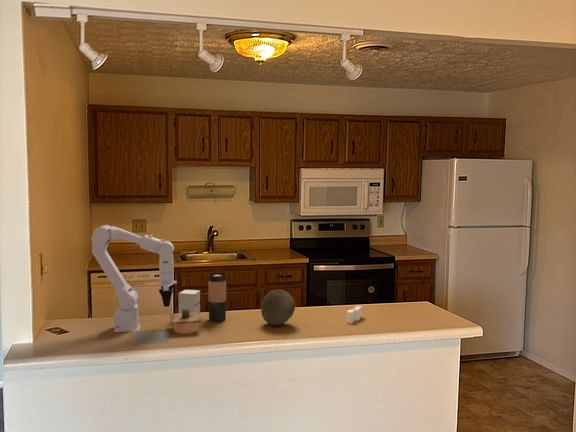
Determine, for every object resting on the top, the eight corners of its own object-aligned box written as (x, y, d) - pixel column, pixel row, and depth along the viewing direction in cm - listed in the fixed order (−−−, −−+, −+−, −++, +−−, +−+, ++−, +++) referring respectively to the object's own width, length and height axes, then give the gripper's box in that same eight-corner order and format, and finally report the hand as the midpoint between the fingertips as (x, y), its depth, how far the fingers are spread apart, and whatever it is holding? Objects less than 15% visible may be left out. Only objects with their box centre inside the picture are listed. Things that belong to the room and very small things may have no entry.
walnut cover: (171, 324, 211) (170, 314, 211) (170, 315, 223) (170, 306, 222) (201, 322, 214) (201, 312, 214) (199, 313, 226) (199, 305, 225)
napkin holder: (359, 315, 246) (359, 303, 245) (374, 322, 236) (374, 309, 235) (331, 319, 239) (331, 307, 238) (345, 326, 229) (345, 313, 228)
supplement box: (194, 323, 229) (194, 294, 228) (178, 322, 231) (177, 293, 230) (200, 318, 237) (200, 290, 235) (184, 317, 238) (184, 289, 237)
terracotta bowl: (173, 335, 213) (173, 323, 213) (174, 327, 223) (174, 315, 223) (199, 334, 215) (199, 322, 214) (199, 326, 225) (198, 314, 224)
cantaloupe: (266, 331, 219) (266, 295, 218) (257, 321, 233) (257, 287, 231) (299, 328, 224) (299, 293, 222) (288, 319, 237) (288, 285, 236)
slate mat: (133, 345, 201) (132, 343, 201) (136, 334, 214) (136, 332, 214) (168, 343, 204) (168, 342, 204) (170, 332, 216) (170, 331, 216)
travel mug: (229, 319, 236) (229, 274, 234) (218, 323, 230) (218, 277, 228) (216, 316, 240) (216, 272, 238) (204, 320, 234) (204, 275, 232)
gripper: (175, 274, 213) (176, 308, 214) (177, 267, 227) (177, 299, 228) (157, 275, 211) (158, 308, 213) (159, 267, 226) (160, 299, 227)
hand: (167, 303), depth 220 cm, fingers open, 7 cm apart
